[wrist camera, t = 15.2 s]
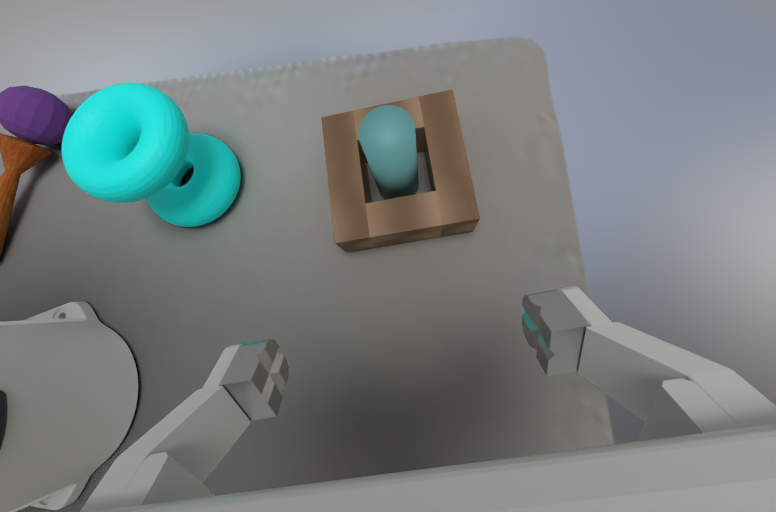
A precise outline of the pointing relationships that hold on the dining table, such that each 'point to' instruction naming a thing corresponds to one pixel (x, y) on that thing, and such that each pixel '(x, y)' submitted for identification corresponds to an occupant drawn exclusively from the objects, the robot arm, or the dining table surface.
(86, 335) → the robot arm
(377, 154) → the teal rounded cylinder
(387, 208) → the brown square frame block
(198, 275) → the dining table surface
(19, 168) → the kendama
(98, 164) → the donuts
